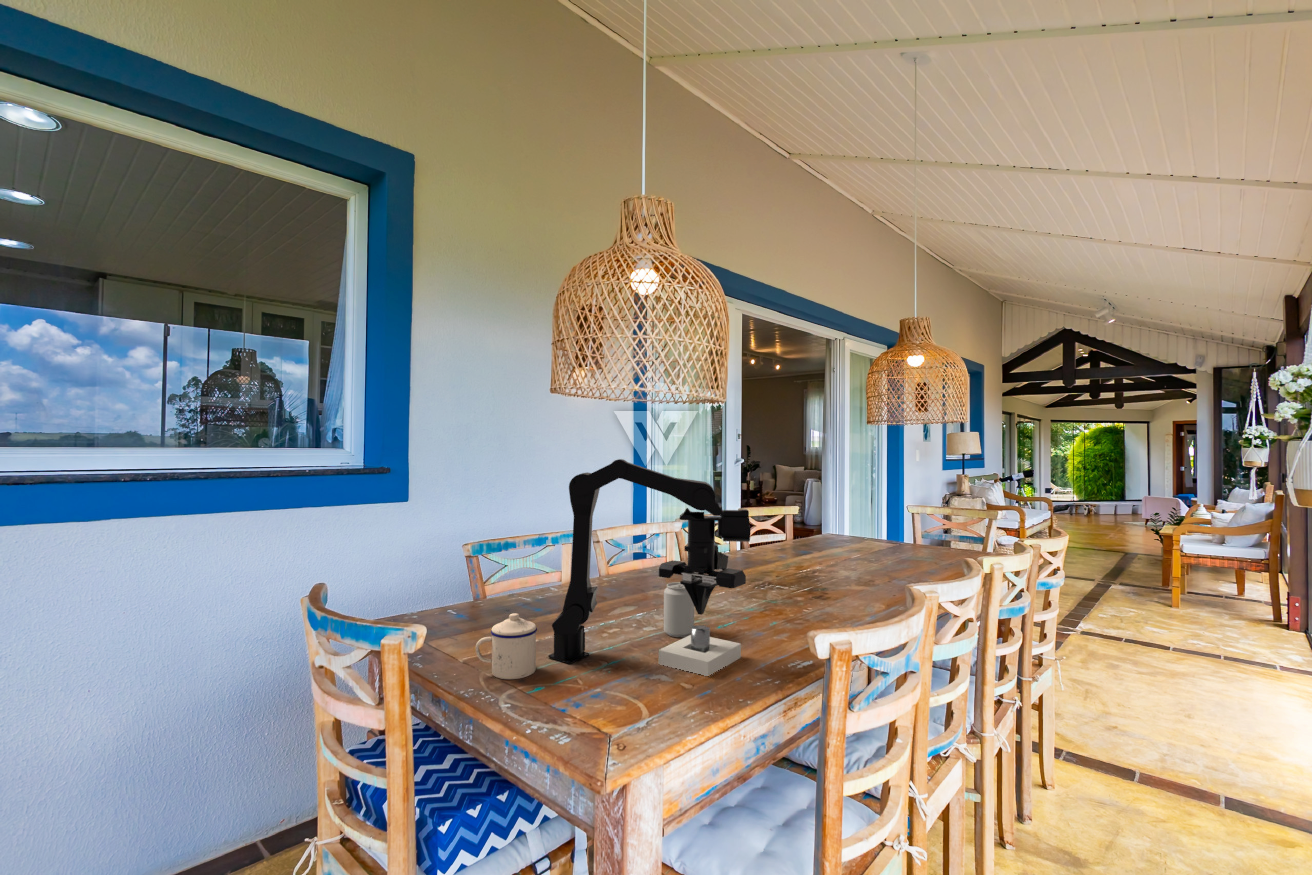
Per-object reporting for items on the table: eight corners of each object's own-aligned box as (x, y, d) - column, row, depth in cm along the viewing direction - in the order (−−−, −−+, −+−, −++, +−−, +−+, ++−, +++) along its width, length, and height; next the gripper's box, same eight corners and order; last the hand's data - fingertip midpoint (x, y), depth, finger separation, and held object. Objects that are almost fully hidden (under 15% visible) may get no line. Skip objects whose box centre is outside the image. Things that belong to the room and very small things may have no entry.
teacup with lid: (535, 662, 132) (536, 607, 132) (537, 678, 123) (537, 619, 123) (476, 666, 129) (477, 610, 129) (474, 683, 120) (474, 622, 120)
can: (658, 635, 151) (658, 585, 151) (671, 627, 157) (672, 579, 157) (686, 640, 147) (686, 589, 147) (699, 631, 154) (699, 582, 154)
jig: (707, 677, 124) (708, 661, 124) (658, 664, 131) (658, 649, 131) (740, 657, 136) (740, 643, 136) (693, 646, 143) (693, 633, 143)
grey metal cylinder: (703, 665, 131) (703, 632, 131) (687, 661, 133) (687, 628, 133) (713, 660, 134) (713, 627, 134) (697, 656, 136) (697, 624, 136)
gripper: (757, 540, 135) (757, 612, 135) (684, 532, 146) (684, 599, 146) (733, 547, 126) (732, 625, 126) (657, 538, 136) (656, 609, 136)
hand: (700, 613), depth 134 cm, fingers closed
